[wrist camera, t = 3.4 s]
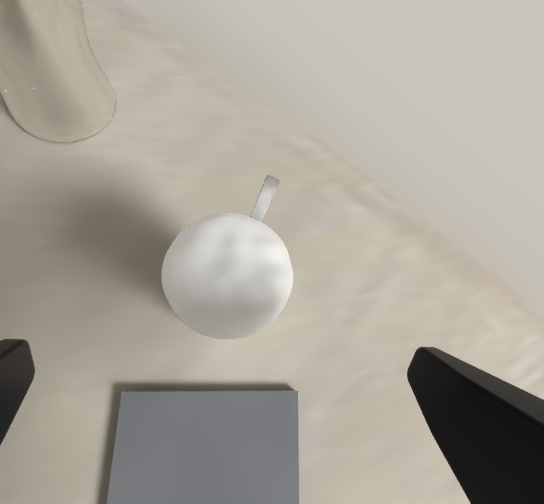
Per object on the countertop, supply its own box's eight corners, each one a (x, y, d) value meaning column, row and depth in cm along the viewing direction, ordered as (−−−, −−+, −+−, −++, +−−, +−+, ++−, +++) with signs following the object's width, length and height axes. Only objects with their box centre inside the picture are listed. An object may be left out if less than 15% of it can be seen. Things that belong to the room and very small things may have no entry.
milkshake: (277, 276, 21) (335, 207, 11) (239, 360, 19) (272, 362, 9) (209, 243, 20) (212, 146, 11) (164, 325, 19) (122, 291, 9)
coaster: (296, 592, 16) (300, 601, 16) (94, 615, 15) (90, 625, 14) (294, 390, 19) (297, 391, 18) (124, 390, 17) (121, 392, 17)
